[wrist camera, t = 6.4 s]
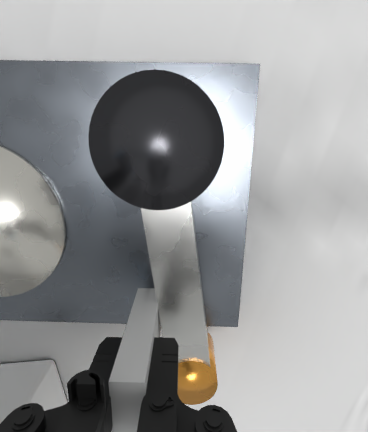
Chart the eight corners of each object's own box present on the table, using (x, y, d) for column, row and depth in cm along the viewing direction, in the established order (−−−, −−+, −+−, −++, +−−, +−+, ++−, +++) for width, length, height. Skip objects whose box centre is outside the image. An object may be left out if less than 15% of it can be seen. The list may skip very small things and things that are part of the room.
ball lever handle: (98, 91, 15) (74, 80, 12) (212, 75, 14) (218, 59, 11) (151, 365, 20) (144, 408, 17) (236, 358, 19) (245, 400, 16)
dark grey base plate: (-109, 299, 21) (-144, 318, 19) (-184, 66, 17) (-242, 55, 14) (233, 309, 21) (238, 329, 19) (251, 72, 16) (261, 62, 14)
